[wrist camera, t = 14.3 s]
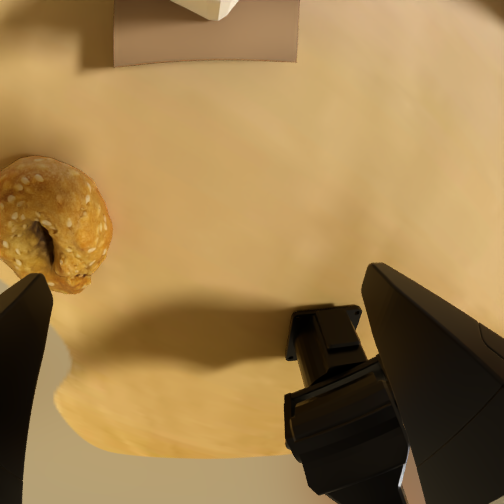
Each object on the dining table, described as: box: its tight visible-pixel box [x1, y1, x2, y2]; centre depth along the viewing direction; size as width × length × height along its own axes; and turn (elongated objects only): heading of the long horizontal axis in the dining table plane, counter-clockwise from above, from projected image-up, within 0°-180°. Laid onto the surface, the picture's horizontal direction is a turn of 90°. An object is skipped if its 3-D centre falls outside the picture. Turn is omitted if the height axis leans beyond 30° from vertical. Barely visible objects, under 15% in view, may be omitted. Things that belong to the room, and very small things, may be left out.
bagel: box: [0, 156, 113, 294], centre depth 18 cm, size 10×11×5 cm
